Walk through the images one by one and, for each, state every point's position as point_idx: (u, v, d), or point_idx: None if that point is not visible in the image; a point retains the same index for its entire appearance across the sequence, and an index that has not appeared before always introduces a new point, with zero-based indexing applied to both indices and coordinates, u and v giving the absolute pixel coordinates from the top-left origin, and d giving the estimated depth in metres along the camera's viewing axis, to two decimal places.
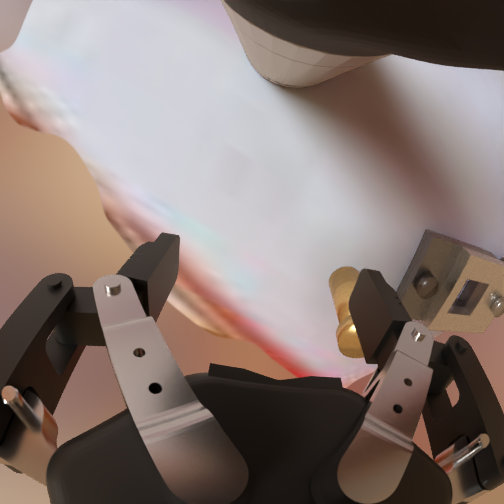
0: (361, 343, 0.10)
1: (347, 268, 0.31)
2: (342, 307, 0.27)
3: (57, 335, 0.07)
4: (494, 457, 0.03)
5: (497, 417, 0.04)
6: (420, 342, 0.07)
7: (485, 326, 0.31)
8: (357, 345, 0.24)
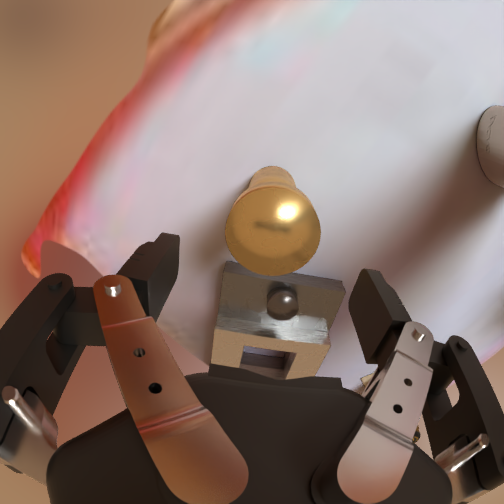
0: (361, 343, 0.10)
1: None
2: None
3: (57, 335, 0.07)
4: (494, 457, 0.03)
5: (497, 417, 0.04)
6: (420, 342, 0.07)
7: None
8: (261, 225, 0.15)
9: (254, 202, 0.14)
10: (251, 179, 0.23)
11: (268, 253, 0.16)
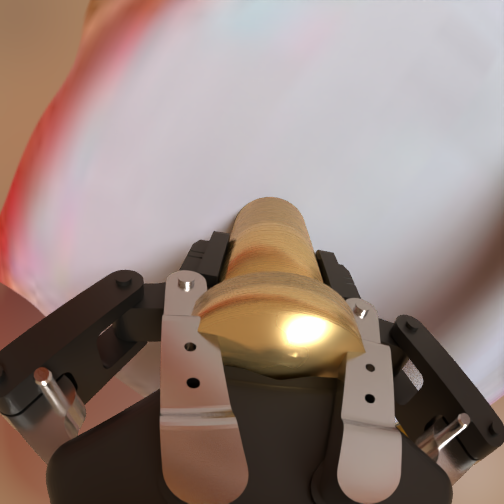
0: None
1: None
2: (299, 255, 0.09)
3: (116, 329, 0.08)
4: (479, 432, 0.04)
5: (470, 391, 0.05)
6: (359, 317, 0.08)
7: None
8: None
9: (226, 339, 0.06)
10: (236, 219, 0.15)
11: None
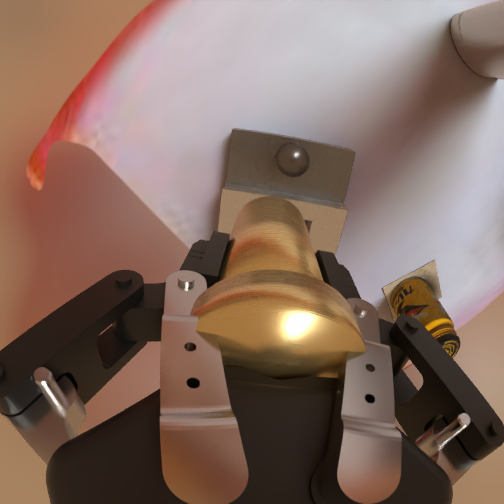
0: None
1: None
2: (299, 254, 0.09)
3: (116, 329, 0.08)
4: (479, 432, 0.04)
5: (470, 391, 0.05)
6: (359, 317, 0.08)
7: None
8: None
9: (226, 337, 0.06)
10: (236, 218, 0.15)
11: None
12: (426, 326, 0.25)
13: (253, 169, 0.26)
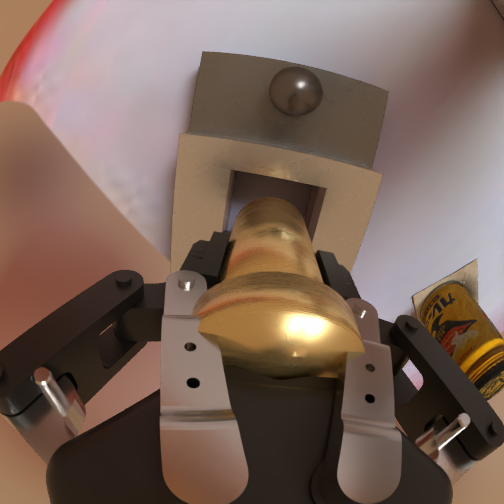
0: None
1: None
2: (299, 255, 0.09)
3: (116, 329, 0.08)
4: (479, 431, 0.04)
5: (469, 391, 0.05)
6: (359, 317, 0.08)
7: None
8: None
9: (227, 339, 0.06)
10: (236, 219, 0.15)
11: None
12: (477, 350, 0.15)
13: (232, 108, 0.15)
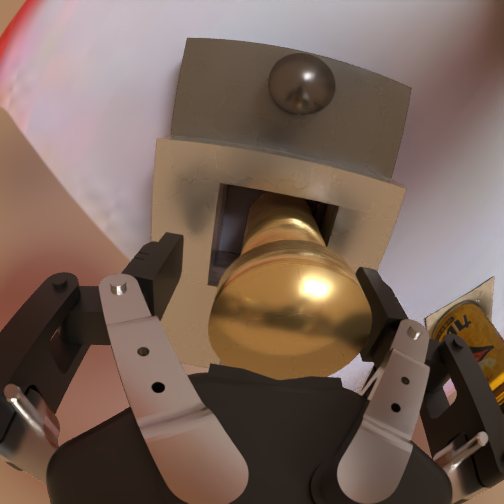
0: None
1: None
2: (310, 234, 0.11)
3: (62, 334, 0.07)
4: (493, 455, 0.03)
5: (495, 414, 0.04)
6: (415, 340, 0.07)
7: None
8: (271, 324, 0.08)
9: (260, 289, 0.08)
10: (250, 209, 0.16)
11: (281, 360, 0.09)
12: (494, 381, 0.12)
13: (223, 105, 0.12)
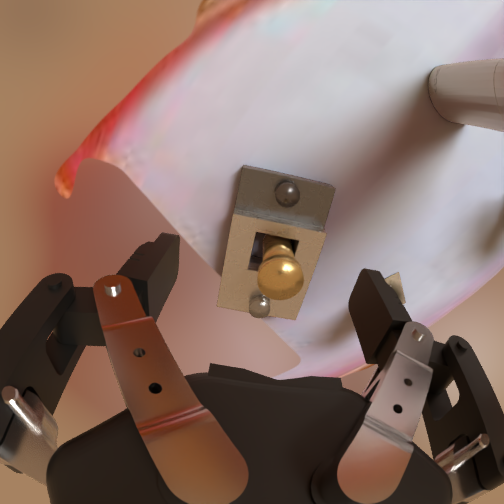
0: (361, 343, 0.10)
1: None
2: (287, 251, 0.34)
3: (57, 335, 0.07)
4: (494, 457, 0.03)
5: (497, 416, 0.04)
6: (420, 342, 0.07)
7: (226, 304, 0.40)
8: (275, 277, 0.31)
9: (272, 267, 0.30)
10: (264, 238, 0.39)
11: (277, 289, 0.31)
12: None
13: (256, 199, 0.35)
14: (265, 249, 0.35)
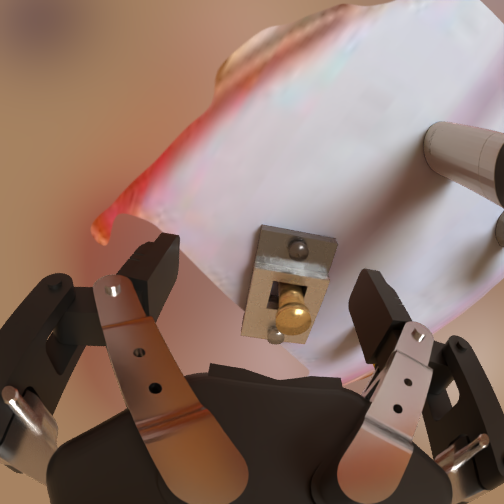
0: (361, 343, 0.10)
1: None
2: (298, 297, 0.42)
3: (57, 335, 0.07)
4: (494, 457, 0.03)
5: (497, 417, 0.04)
6: (420, 342, 0.07)
7: (249, 333, 0.48)
8: (289, 320, 0.39)
9: (287, 313, 0.38)
10: None
11: (291, 328, 0.40)
12: None
13: (273, 254, 0.43)
14: (280, 293, 0.44)
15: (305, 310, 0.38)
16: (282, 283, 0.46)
